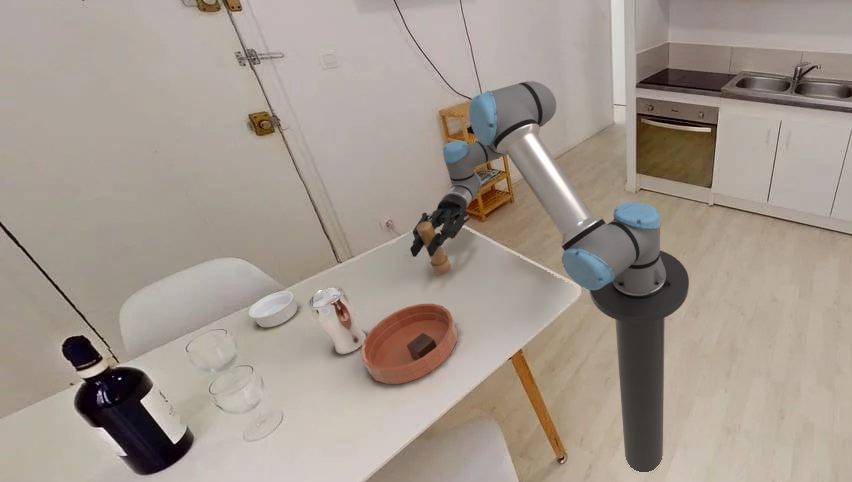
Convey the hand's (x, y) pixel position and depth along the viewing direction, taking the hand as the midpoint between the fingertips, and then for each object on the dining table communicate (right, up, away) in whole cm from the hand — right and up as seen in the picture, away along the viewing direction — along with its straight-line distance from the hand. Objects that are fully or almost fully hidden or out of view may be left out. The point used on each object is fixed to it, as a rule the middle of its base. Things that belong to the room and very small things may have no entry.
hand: (421, 252), depth 105 cm
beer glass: (-12, -20, -9) cm, 25 cm away
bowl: (+4, -21, -11) cm, 24 cm away
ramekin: (-36, -16, -1) cm, 39 cm away
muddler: (0, -6, +11) cm, 13 cm away
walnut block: (+8, -21, -13) cm, 26 cm away
